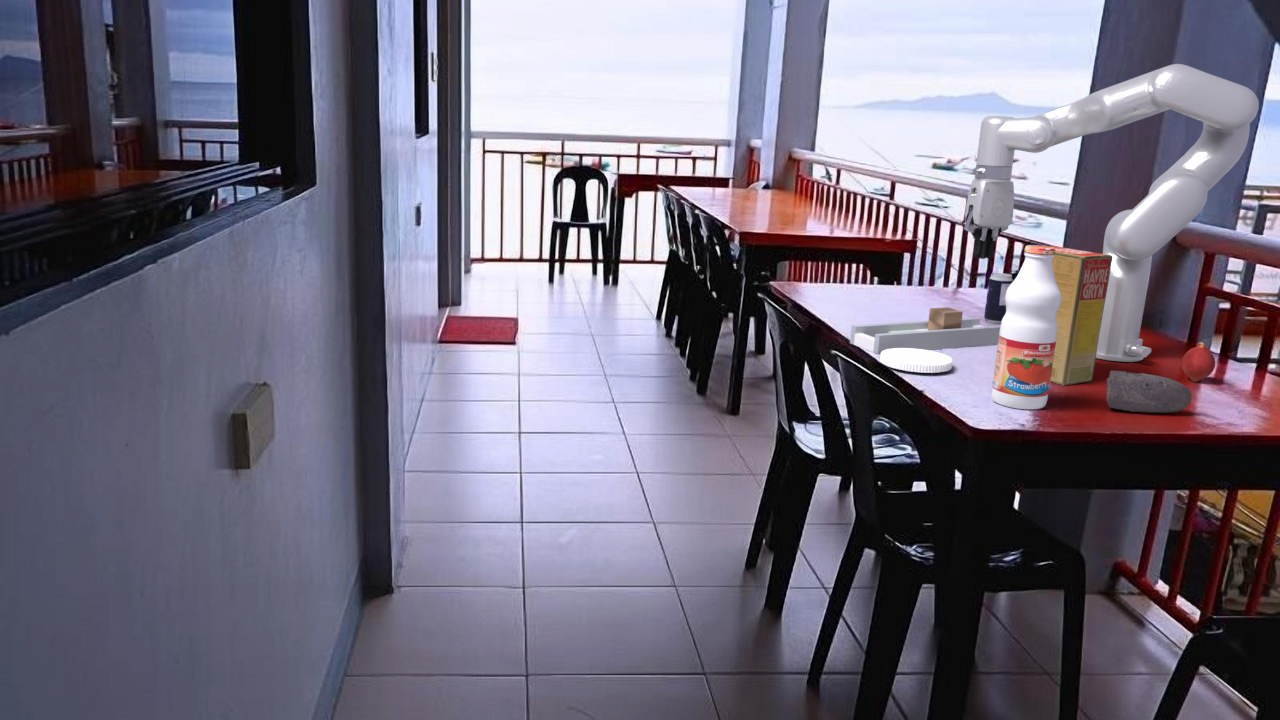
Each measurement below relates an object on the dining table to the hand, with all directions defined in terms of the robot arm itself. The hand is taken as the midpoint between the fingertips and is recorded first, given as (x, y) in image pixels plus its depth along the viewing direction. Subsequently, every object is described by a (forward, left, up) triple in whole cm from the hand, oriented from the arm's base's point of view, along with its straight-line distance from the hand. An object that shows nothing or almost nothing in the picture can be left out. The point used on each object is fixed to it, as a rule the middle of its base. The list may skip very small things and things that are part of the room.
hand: (982, 257), depth 215 cm
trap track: (0, +12, -19) cm, 23 cm away
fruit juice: (-42, +27, -19) cm, 54 cm away
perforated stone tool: (-53, +9, -19) cm, 57 cm away
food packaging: (-29, +6, -19) cm, 35 cm away
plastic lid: (-16, +29, -20) cm, 39 cm away
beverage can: (+15, -21, -19) cm, 32 cm away
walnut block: (0, +9, -17) cm, 19 cm away
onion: (-41, -20, -19) cm, 50 cm away
